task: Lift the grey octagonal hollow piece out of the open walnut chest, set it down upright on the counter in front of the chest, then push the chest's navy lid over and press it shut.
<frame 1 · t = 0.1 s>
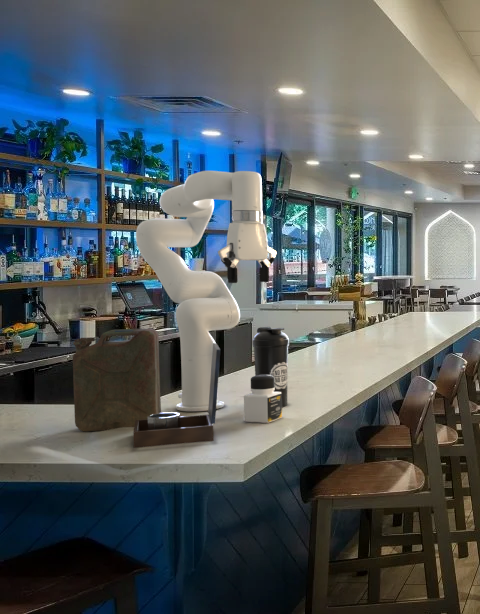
hand: (248, 282, 211), 37 cm above the table, tool pointing down, fingers open, 9 cm apart
canister: (119, 428, 201), on the table
chest: (174, 440, 187), on the table
water bottle: (272, 406, 231), on the table
medicine bottle: (263, 420, 211), on the table
grey octagonal hollow piece: (164, 438, 186), point 1 cm above the table, touching chest
lid: (214, 382, 190), point 13 cm above the table, hinge at 95.0°
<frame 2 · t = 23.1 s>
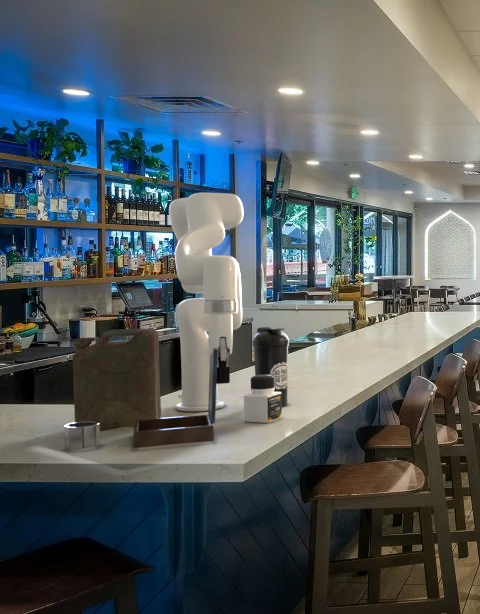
hand: (222, 382, 191), 13 cm above the table, tool pointing down, fingers closed
grey octagonal hollow piece: (82, 448, 180), on the table
lid: (212, 382, 190), point 13 cm above the table, hinge at 93.0°, touching gripper
everything else where it was.
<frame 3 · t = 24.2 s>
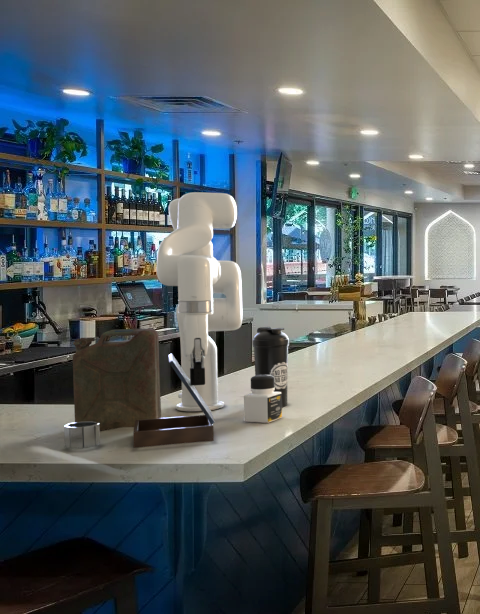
hand: (197, 384, 189), 13 cm above the table, tool pointing down, fingers closed
lid: (191, 388, 188), point 12 cm above the table, hinge at 60.2°, touching gripper
everything else where it was.
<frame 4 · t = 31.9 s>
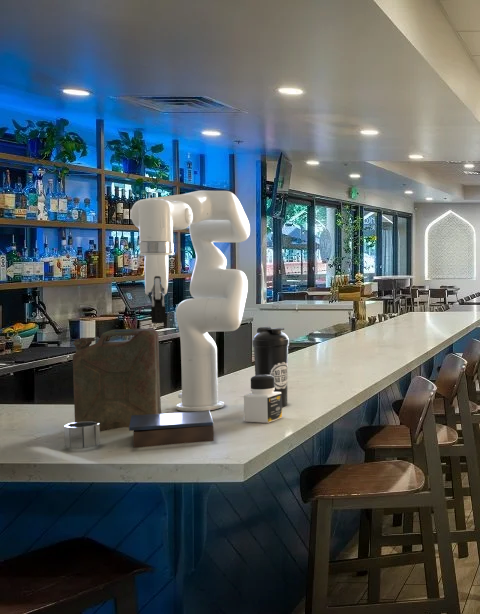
hand: (158, 322, 197), 27 cm above the table, tool pointing down, fingers closed
lid: (171, 420, 187), point 5 cm above the table, hinge at 1.1°
everything else where it was.
at the end: grey octagonal hollow piece inside the target area (0.0 cm from its centre), on the table; grey octagonal hollow piece tilted 0°; lid at +1° (first picture: +95°) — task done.
